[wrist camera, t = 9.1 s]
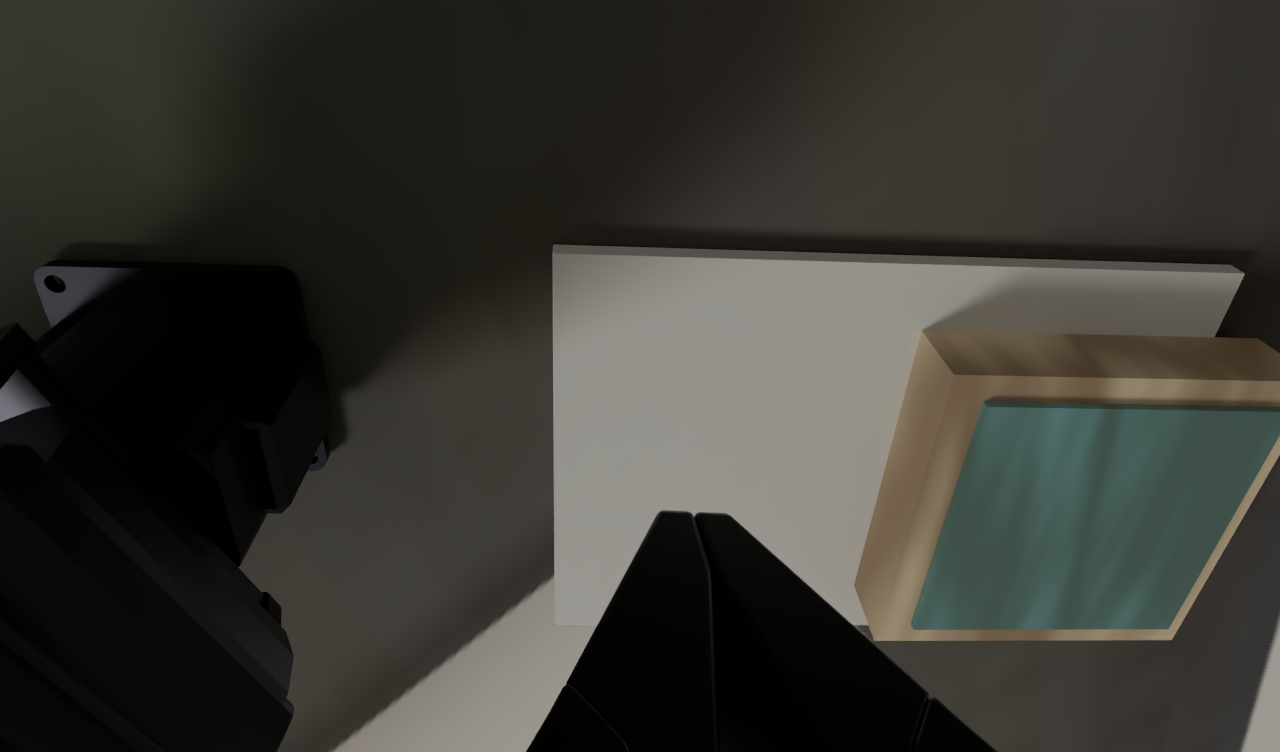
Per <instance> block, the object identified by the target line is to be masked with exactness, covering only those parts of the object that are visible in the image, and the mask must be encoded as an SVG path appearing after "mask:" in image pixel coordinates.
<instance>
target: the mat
mask: <svg viewBox="0 0 1280 752" xmlns="http://www.w3.org/2000/svg"><path fill="white" fill-rule="evenodd" d="M552 266H553V418H554V571H555V625H598V623H599V621H600V619H601V618H602V616H603V614H604V612H605V610H606V608H607V606H608V605H609V603H610V601H611V599H612V597H613V595H614V593H615V591H616V590H617V588H618V586H619V584H620V582H621V580H622V578H623V577H624V575H625V573H626V571H627V569H628V567H629V565H630V564H631V562H632V560H633V558H634V556H635V554H636V552H637V551H638V549H639V547H640V545H641V543H642V541H643V539H644V538H645V536H646V534H647V532H648V530H649V528H650V526H651V524H652V523H653V521H654V519H655V517H656V515H657V514H658V513H659V512H660V511H662V510H671V511H688V512H691V513H692V514H693V516H695V514H696V513H698V512H712V513H726V514H728V515H730V516H732V517H733V518H734V519H735V520H736V521H737V522H739V523H740V524H741V525H742V526H743V527H744V528H745V529H746V530H747V531H749V532H750V533H751V534H752V535H753V536H754V537H755V538H756V539H758V540H759V541H760V542H761V543H762V544H763V545H764V546H765V547H766V548H768V549H769V550H770V551H771V552H772V553H773V554H774V555H775V556H777V557H778V558H779V559H780V560H781V561H782V562H783V563H784V564H785V565H787V566H788V567H789V568H790V569H791V570H792V571H793V572H794V573H795V574H797V575H798V576H799V577H800V578H801V579H802V580H803V581H804V582H806V583H807V584H808V585H809V586H810V587H811V588H812V589H813V590H814V591H816V592H817V593H818V594H819V595H820V596H821V597H822V598H823V599H825V600H826V601H827V602H828V603H829V604H830V605H831V606H832V607H833V608H835V609H836V610H837V611H838V612H839V613H840V614H841V615H842V616H843V617H845V618H846V619H847V620H848V621H849V622H850V623H851V624H852V625H868V622H867V619H866V616H865V614H864V611H863V608H862V606H861V603H860V600H859V597H858V595H857V592H856V589H855V587H854V583H855V579H856V576H857V572H858V568H859V564H860V561H861V557H862V553H863V549H864V545H865V542H866V538H867V534H868V530H869V527H870V523H871V519H872V515H873V512H874V508H875V504H876V500H877V496H878V493H879V489H880V485H881V481H882V478H883V474H884V470H885V466H886V463H887V459H888V455H889V451H890V447H891V444H892V440H893V436H894V432H895V429H896V425H897V421H898V417H899V414H900V410H901V406H902V402H903V399H904V395H905V391H906V387H907V383H908V380H909V376H910V372H911V368H912V365H913V361H914V357H915V353H916V350H917V346H918V342H919V338H920V334H921V331H922V330H923V331H965V332H1008V333H1050V334H1093V335H1135V336H1177V337H1215V335H1216V333H1217V331H1218V329H1219V327H1220V325H1221V323H1222V320H1223V318H1224V316H1225V314H1226V312H1227V310H1228V308H1229V306H1230V304H1231V302H1232V300H1233V298H1234V296H1235V294H1236V292H1237V289H1238V287H1239V285H1240V283H1241V281H1242V279H1243V277H1244V275H1245V273H1243V272H1242V271H1240V270H1238V269H1236V268H1235V267H1233V266H1231V265H1218V264H1184V263H1151V262H1118V261H1084V260H1051V259H1017V258H984V257H951V256H917V255H884V254H850V253H817V252H784V251H750V250H717V249H683V248H650V247H617V246H583V245H553V253H552Z"/></svg>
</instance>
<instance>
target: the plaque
mask: <svg viewBox="0 0 1280 752" xmlns="http://www.w3.org/2000/svg"><path fill="white" fill-rule="evenodd" d="M1279 455H1280V353H1278V352H1277V351H1276V350H1274V349H1273V348H1271V347H1270V346H1268V345H1267V344H1265V343H1264V342H1262V341H1261V340H1259V339H1258V338H1220V337H1177V336H1135V335H1093V334H1050V333H1008V332H965V331H923V330H922V331H921V334H920V338H919V342H918V346H917V350H916V353H915V357H914V361H913V365H912V368H911V372H910V376H909V380H908V383H907V387H906V391H905V395H904V399H903V402H902V406H901V410H900V414H899V417H898V421H897V425H896V429H895V432H894V436H893V440H892V444H891V447H890V451H889V455H888V459H887V463H886V466H885V470H884V474H883V478H882V481H881V485H880V489H879V493H878V496H877V500H876V504H875V508H874V512H873V515H872V519H871V523H870V527H869V530H868V534H867V538H866V542H865V545H864V549H863V553H862V557H861V561H860V564H859V568H858V572H857V576H856V579H855V583H854V587H855V589H856V592H857V595H858V597H859V600H860V603H861V606H862V608H863V611H864V614H865V616H866V619H867V622H868V625H869V627H870V630H871V633H872V635H873V638H874V641H998V640H1172V638H1173V637H1174V635H1175V633H1176V632H1177V630H1178V628H1179V626H1180V625H1181V623H1182V621H1183V620H1184V618H1185V616H1186V614H1187V613H1188V611H1189V609H1190V608H1191V606H1192V604H1193V602H1194V601H1195V599H1196V597H1197V596H1198V594H1199V592H1200V590H1201V589H1202V587H1203V585H1204V584H1205V582H1206V580H1207V578H1208V577H1209V575H1210V573H1211V572H1212V570H1213V568H1214V566H1215V565H1216V563H1217V561H1218V560H1219V558H1220V556H1221V554H1222V553H1223V551H1224V549H1225V548H1226V546H1227V544H1228V542H1229V541H1230V539H1231V537H1232V536H1233V534H1234V532H1235V530H1236V529H1237V527H1238V525H1239V524H1240V522H1241V520H1242V518H1243V517H1244V515H1245V513H1246V512H1247V510H1248V508H1249V506H1250V505H1251V503H1252V501H1253V500H1254V498H1255V496H1256V494H1257V493H1258V491H1259V489H1260V488H1261V486H1262V484H1263V482H1264V481H1265V479H1266V477H1267V476H1268V474H1269V472H1270V470H1271V469H1272V467H1273V465H1274V464H1275V462H1276V460H1277V458H1278V457H1279Z"/></svg>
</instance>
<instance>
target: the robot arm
mask: <svg viewBox="0 0 1280 752" xmlns="http://www.w3.org/2000/svg"><path fill="white" fill-rule="evenodd" d="M53 275H54V276H58V277H59V278H61V279H62V280H63V281H64V283H65V285H66V286H62V285H60V284H59V283H57V282H56V281H55V279H54V278H53ZM270 281H276V282H279V283H280V284H281V285H283V287H284V290H285V292H279V291H276V290H274V289H273V288H272V287H271V285H270ZM34 283H35V286H36V289H37V291H38V294H39V297H40V299H41V302H42V305H43V307H44V310H45V313H46V315H47V318H48V321H49V323H50V326H51V329H50V330H49V331H48V332H46V333H45V334H44V335H43V336H41V337H40V338H39V339H38V340H36V341H35V342H34V341H33V339H32V338H31V337H30V336H29V335H28V334H27V333H26V332H25V331H24V330H23V329H22V328H21V327H20V325H19V324H18V323H13V324H11V325H9V326H6V327H4V328H2V329H0V752H277V751H278V749H279V747H280V745H281V742H282V740H283V738H284V736H285V734H286V732H287V730H288V728H289V726H290V723H291V720H292V717H293V713H294V707H293V705H292V704H291V703H290V702H289V701H288V700H287V699H286V697H287V694H288V690H289V683H290V677H291V670H292V664H293V657H294V656H293V652H292V649H291V646H290V643H289V640H288V637H287V633H286V631H285V630H284V629H283V628H282V627H281V606H280V605H279V604H278V603H277V602H276V601H275V600H274V599H273V597H272V596H271V595H270V594H269V593H268V592H261V591H260V590H259V589H258V588H257V587H256V586H255V585H254V584H253V583H252V582H251V581H250V580H249V579H248V578H247V576H246V575H245V574H244V573H243V572H242V571H241V570H240V569H239V568H238V567H239V566H240V565H241V563H242V561H243V559H244V557H245V555H246V553H247V551H248V550H249V548H250V546H251V544H252V542H253V540H254V538H255V536H256V534H257V532H258V531H259V529H260V527H261V525H262V523H263V521H264V519H265V517H266V515H267V513H282V512H283V511H284V510H286V509H287V508H288V507H289V506H290V505H291V503H292V501H293V499H294V497H295V495H296V493H297V490H298V488H299V486H300V484H301V482H302V480H303V478H304V476H305V474H306V472H307V471H315V470H319V469H321V468H323V467H324V465H325V464H326V462H327V460H328V458H329V456H330V447H329V441H328V436H327V430H328V428H329V426H330V424H331V422H332V412H331V406H330V400H329V395H328V389H327V384H326V378H325V373H324V367H323V362H322V356H321V351H320V348H319V346H318V345H317V344H316V343H315V342H314V341H313V340H309V334H308V329H307V324H306V318H305V313H304V308H303V302H302V297H301V292H300V286H299V283H298V280H297V278H296V276H295V275H294V274H293V273H292V272H291V271H289V270H288V269H286V268H284V267H279V266H259V265H222V264H186V263H150V262H113V261H77V260H54V261H50V262H48V263H47V264H45V265H44V266H42V267H41V268H40V269H38V270H37V271H36V272H35V274H34ZM315 454H316V455H317V456H315ZM314 456H315V457H314ZM928 699H929V700H928ZM526 752H998V751H996V750H995V749H994V748H993V747H992V746H991V745H989V744H988V743H987V742H986V741H985V740H984V739H982V738H981V737H980V736H979V735H978V734H977V733H975V732H974V731H973V730H972V729H971V728H970V727H968V726H967V725H966V724H965V723H964V722H963V721H961V720H960V719H959V718H958V717H957V716H956V715H955V714H954V713H953V712H951V711H950V710H949V709H948V708H947V707H946V706H945V705H944V704H942V703H941V702H940V701H939V700H938V699H937V698H935V697H930V698H929V694H928V692H927V691H926V690H925V689H924V688H923V687H922V686H921V685H919V684H918V683H917V682H916V681H915V680H914V679H913V678H912V677H910V676H909V675H908V674H907V673H906V672H905V671H904V670H903V669H902V668H900V667H899V666H898V665H897V664H896V663H895V662H894V661H893V660H891V659H890V658H889V657H888V656H887V655H886V654H885V653H884V652H883V651H881V650H880V649H879V648H878V647H877V646H876V645H875V644H874V643H873V642H871V641H870V640H869V639H868V638H867V637H866V636H865V635H864V634H862V633H861V632H860V631H859V630H858V629H857V628H856V627H855V626H854V625H852V624H851V623H850V622H849V621H848V620H847V619H846V618H845V617H843V616H842V615H841V614H840V613H839V612H838V611H837V610H836V609H835V608H833V607H832V606H831V605H830V604H829V603H828V602H827V601H826V600H825V599H823V598H822V597H821V596H820V595H819V594H818V593H817V592H816V591H814V590H813V589H812V588H811V587H810V586H809V585H808V584H807V583H806V582H804V581H803V580H802V579H801V578H800V577H799V576H798V575H797V574H795V573H794V572H793V571H792V570H791V569H790V568H789V567H788V566H787V565H785V564H784V563H783V562H782V561H781V560H780V559H779V558H778V557H777V556H775V555H774V554H773V553H772V552H771V551H770V550H769V549H768V548H766V547H765V546H764V545H763V544H762V543H761V542H760V541H759V540H758V539H756V538H755V537H754V536H753V535H752V534H751V533H750V532H749V531H747V530H746V529H745V528H744V527H743V526H742V525H741V524H740V523H739V522H737V521H736V520H735V519H734V518H733V517H732V516H730V515H728V514H726V513H712V512H698V513H696V514H695V516H693V514H692V513H691V512H688V511H671V510H662V511H660V512H659V513H658V514H657V515H656V517H655V519H654V521H653V523H652V524H651V526H650V528H649V530H648V532H647V534H646V536H645V538H644V539H643V541H642V543H641V545H640V547H639V549H638V551H637V552H636V554H635V556H634V558H633V560H632V562H631V564H630V565H629V567H628V569H627V571H626V573H625V575H624V577H623V578H622V580H621V582H620V584H619V586H618V588H617V590H616V591H615V593H614V595H613V597H612V599H611V601H610V603H609V605H608V606H607V608H606V610H605V612H604V614H603V616H602V618H601V619H600V621H599V623H598V625H597V627H596V629H595V631H594V632H593V634H592V636H591V638H590V640H589V642H588V644H587V645H586V647H585V649H584V651H583V653H582V655H581V657H580V658H579V660H578V662H577V664H576V666H575V668H574V670H573V672H572V674H571V675H570V677H569V679H568V681H567V683H566V686H564V687H563V689H562V690H561V692H560V694H559V696H558V698H557V699H556V702H555V703H554V705H553V707H552V709H551V711H550V712H549V714H548V716H547V717H546V719H545V721H544V723H543V724H542V726H541V728H540V729H539V731H538V733H537V734H536V736H535V738H534V739H533V741H532V743H531V745H530V746H529V748H528V749H527V751H526Z"/></svg>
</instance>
